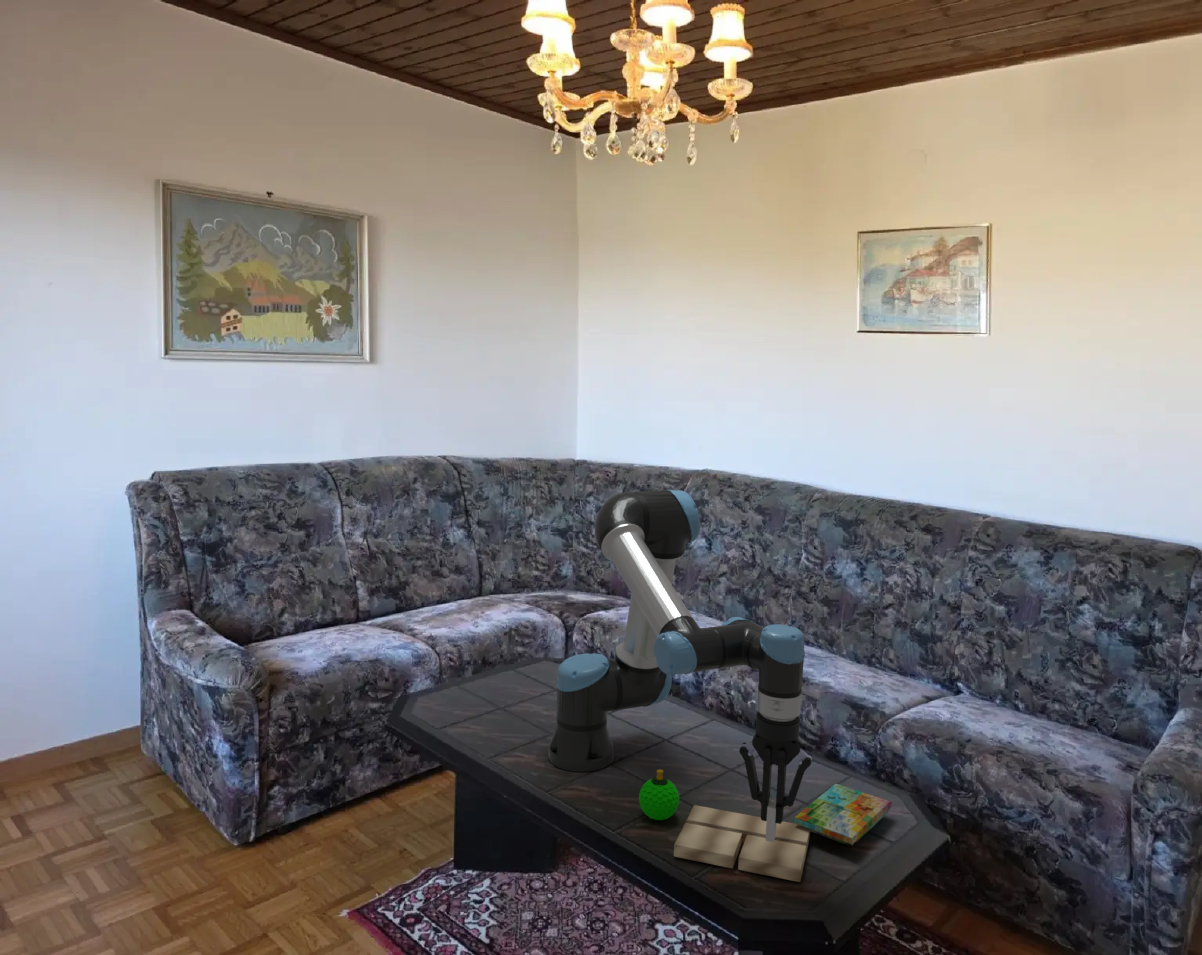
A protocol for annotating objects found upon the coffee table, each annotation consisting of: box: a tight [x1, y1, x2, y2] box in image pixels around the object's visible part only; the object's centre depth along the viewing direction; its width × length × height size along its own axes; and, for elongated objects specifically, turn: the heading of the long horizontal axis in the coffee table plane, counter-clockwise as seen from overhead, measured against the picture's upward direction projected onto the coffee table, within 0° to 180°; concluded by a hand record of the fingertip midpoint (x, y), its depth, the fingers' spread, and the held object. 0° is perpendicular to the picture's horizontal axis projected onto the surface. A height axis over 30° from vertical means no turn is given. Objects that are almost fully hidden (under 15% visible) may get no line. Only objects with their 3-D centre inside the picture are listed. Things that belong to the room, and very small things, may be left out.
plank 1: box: [673, 822, 742, 869], centre depth 166 cm, size 11×9×2 cm
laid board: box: [685, 804, 811, 854], centre depth 172 cm, size 23×7×2 cm, turn 71°
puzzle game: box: [793, 783, 892, 847], centre depth 175 cm, size 12×5×20 cm
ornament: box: [638, 768, 680, 821], centre depth 177 cm, size 8×8×10 cm
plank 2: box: [737, 835, 807, 883], centre depth 162 cm, size 11×9×2 cm
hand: (770, 837), depth 159 cm, fingers closed
